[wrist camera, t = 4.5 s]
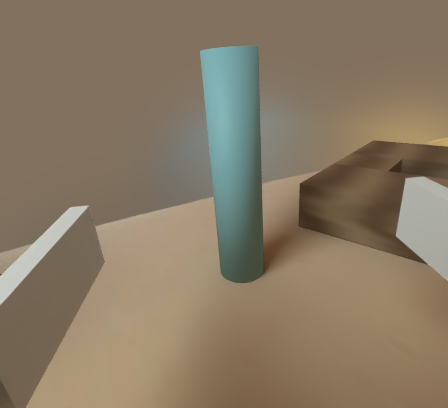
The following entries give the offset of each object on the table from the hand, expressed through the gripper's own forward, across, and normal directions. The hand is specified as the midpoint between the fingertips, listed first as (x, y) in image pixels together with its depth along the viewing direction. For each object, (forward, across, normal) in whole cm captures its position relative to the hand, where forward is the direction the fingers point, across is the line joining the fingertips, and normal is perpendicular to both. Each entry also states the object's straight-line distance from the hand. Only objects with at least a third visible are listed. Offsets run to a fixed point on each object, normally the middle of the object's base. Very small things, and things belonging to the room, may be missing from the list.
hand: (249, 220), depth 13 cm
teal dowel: (+9, 0, -9) cm, 13 cm away
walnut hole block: (+17, +19, -9) cm, 27 cm away
